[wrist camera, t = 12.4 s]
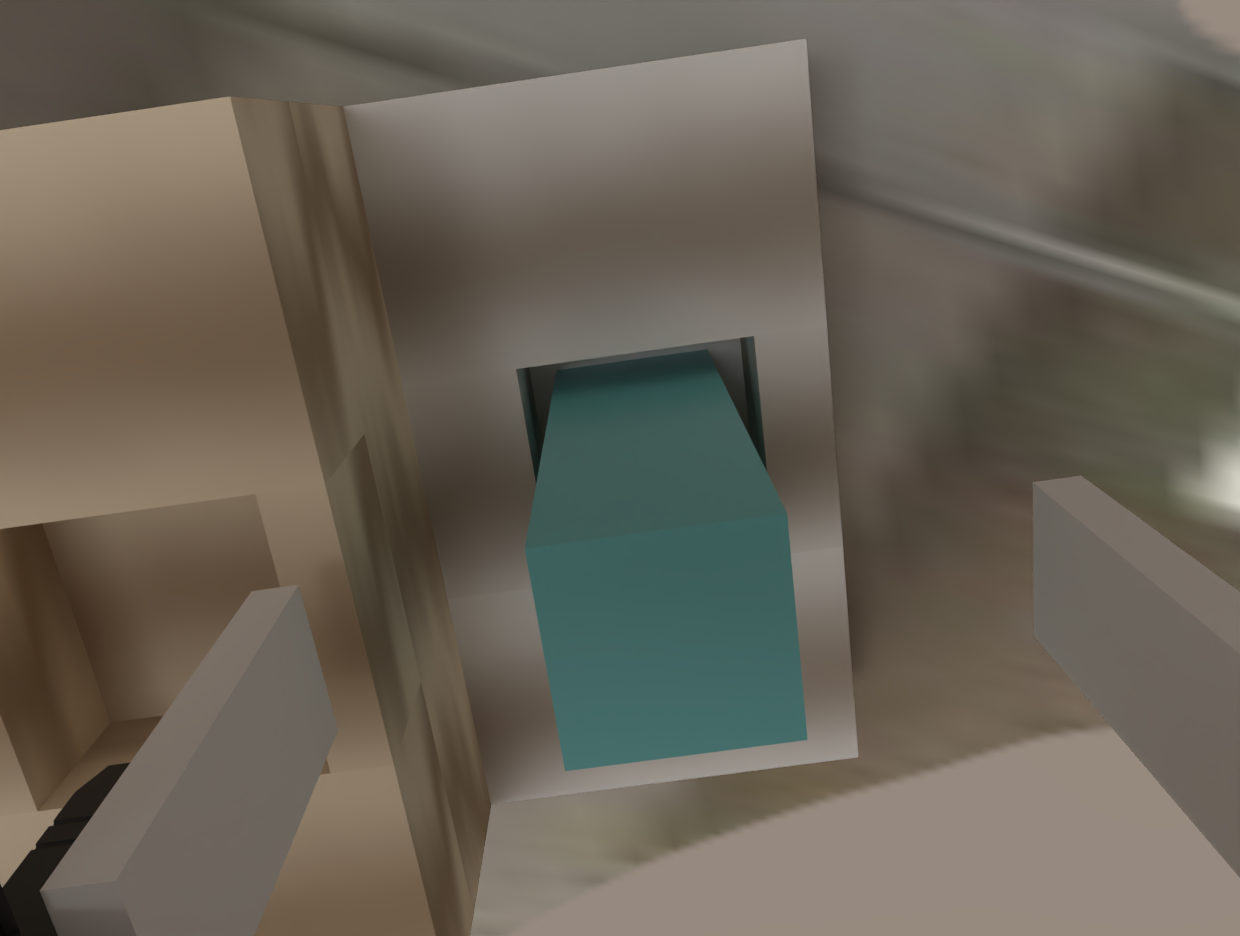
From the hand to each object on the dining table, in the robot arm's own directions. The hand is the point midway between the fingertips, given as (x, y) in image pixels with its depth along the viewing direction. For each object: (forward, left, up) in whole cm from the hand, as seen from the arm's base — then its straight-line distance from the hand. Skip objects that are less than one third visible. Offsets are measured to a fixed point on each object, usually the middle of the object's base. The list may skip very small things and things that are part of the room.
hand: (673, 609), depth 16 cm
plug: (0, 0, -12) cm, 12 cm away
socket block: (0, -5, -13) cm, 13 cm away
